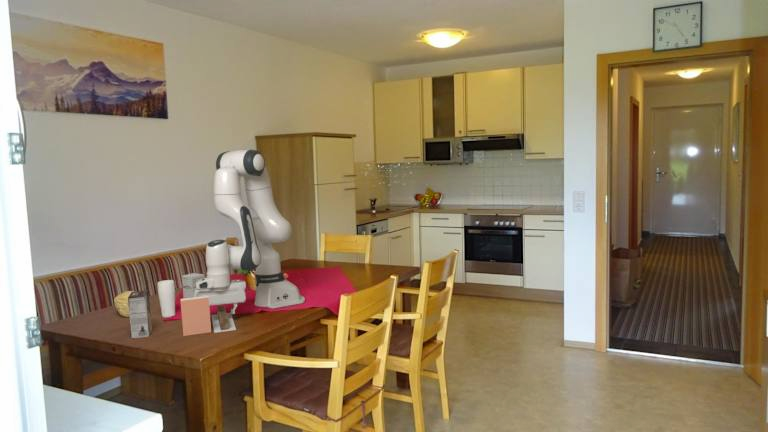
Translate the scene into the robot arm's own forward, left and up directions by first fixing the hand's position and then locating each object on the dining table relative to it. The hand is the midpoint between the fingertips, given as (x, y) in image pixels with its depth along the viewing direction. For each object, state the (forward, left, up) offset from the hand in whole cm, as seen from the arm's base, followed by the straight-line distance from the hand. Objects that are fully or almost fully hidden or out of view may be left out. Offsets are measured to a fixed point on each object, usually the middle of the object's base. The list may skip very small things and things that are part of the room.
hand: (220, 315), depth 224 cm
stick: (-1, 0, -3) cm, 3 cm away
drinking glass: (+20, -22, -4) cm, 30 cm away
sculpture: (+35, -32, -4) cm, 48 cm away
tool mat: (-1, 0, -4) cm, 4 cm away
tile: (+9, +10, -4) cm, 14 cm away
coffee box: (+29, 0, -4) cm, 30 cm away
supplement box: (+9, -44, -4) cm, 45 cm away
